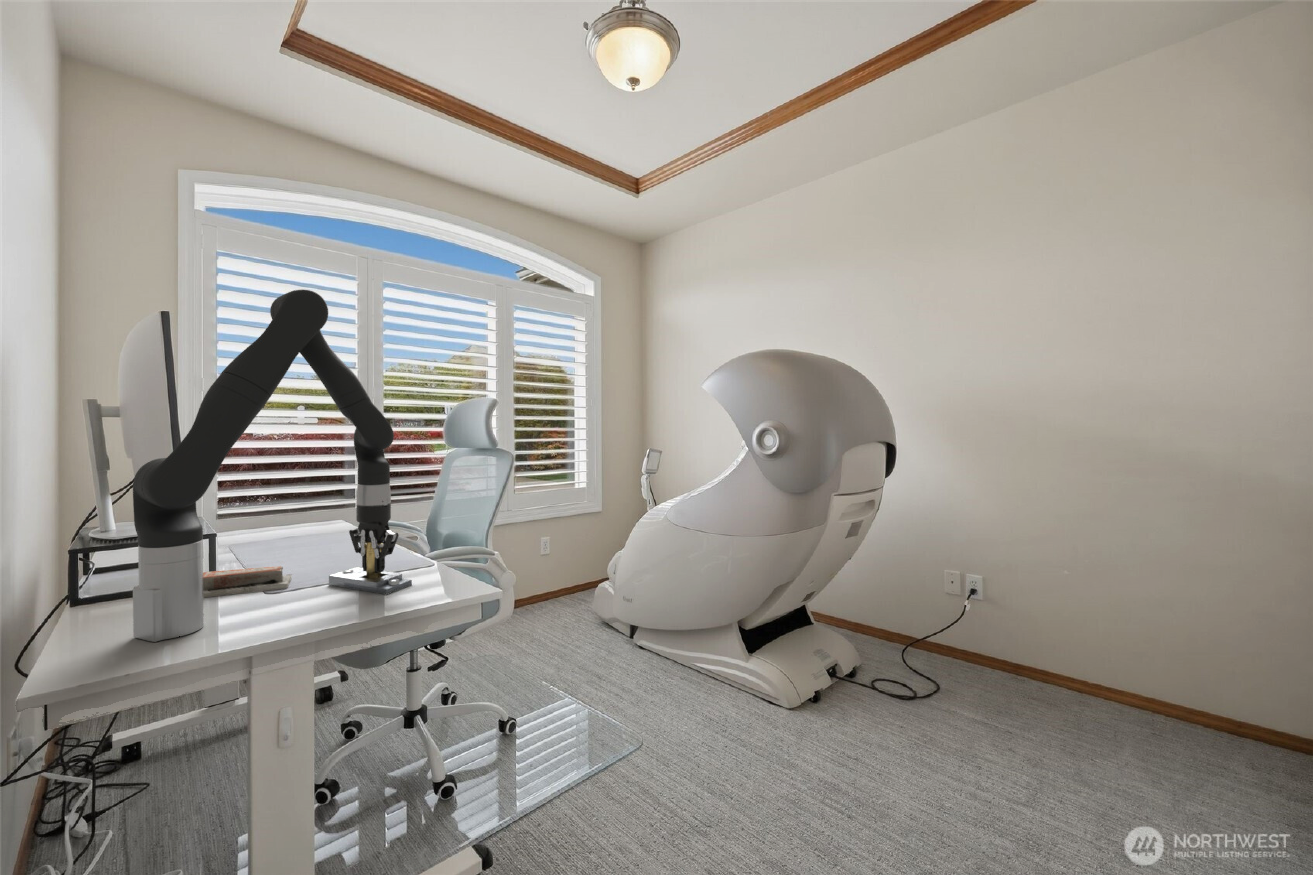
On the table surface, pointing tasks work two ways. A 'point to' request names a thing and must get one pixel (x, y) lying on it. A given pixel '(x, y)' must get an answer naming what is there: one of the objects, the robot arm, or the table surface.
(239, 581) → the packaged product
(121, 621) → the table surface
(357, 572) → the grey plate with window
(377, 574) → the brass pin
